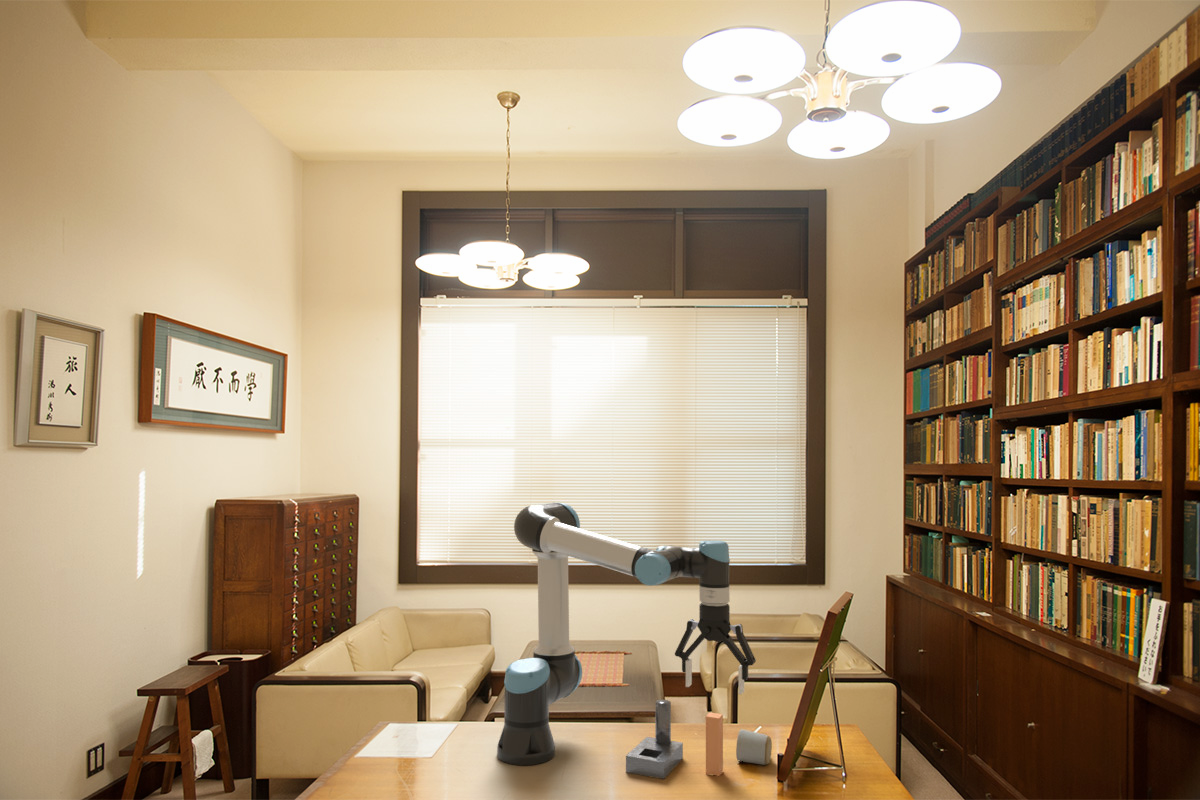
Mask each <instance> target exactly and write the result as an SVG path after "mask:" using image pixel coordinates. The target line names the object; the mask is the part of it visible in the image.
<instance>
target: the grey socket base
mask: <svg viewBox="0 0 1200 800" xmlns="http://www.w3.org/2000/svg"><path fill="white" fill-rule="evenodd" d="M671 707H672V702H671V701H670V700H668V699H657V700H656V701H655V716H654V717H655V724H654V725H655V729H654V730H655V731H654V732H655V733H654V734H655V735H654V737H650V736H645V738H643V739H642V740H641V741H640V742H639V743H638V744H637V745H636V746H634V748H633V749H632V750H631V751H629V752H628V753H627V754H626V755H625V773H628V774H633V775H638V774H640V775H639V776H643V775H645V777H648V776H652V777H651V778H653V777H658V778H657V779H659V778H663V779H662V780H665V779H666V778H667V777H666V776H668V775H670V773H671V772H672V771H673V770H674V769H675V768H674V767H675V766H678V764H680V762H682V760H683V759H684V757H683V754H684V753H683V752H684V749H683V748H684V747H683V746H684V744H683V743H684V742H680V741H674V740H672V739H671V738H672V733H671V732H672V731H671V729H672V728H671V727H672V723H671V719H672V713H671V712H672V708H671ZM682 758H683V759H682ZM681 759H682V760H681ZM673 768H674V769H673ZM672 769H673V770H672ZM671 770H672V771H671ZM665 777H666V778H665ZM664 778H665V779H664Z"/></svg>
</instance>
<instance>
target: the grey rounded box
mask: <svg viewBox="0 0 1200 800" xmlns="http://www.w3.org/2000/svg"><path fill="white" fill-rule="evenodd" d="M772 746H773V743H772V738H771V737H770V736H769V735H767V734H764V733H760V732H756V731H752V730H747V729H743V728H742V729H739V731H738V734H737V739H736V747H735V753H736V754H735V755H736V760H737V761H738V760H741V761H740V762H742V761H743V762H742V763H749V764H756V765H762V766H763V765H768V764H769V763H770V762H771V756H772V751H773V750H772V748H773V747H772Z"/></svg>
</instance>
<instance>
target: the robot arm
mask: <svg viewBox="0 0 1200 800" xmlns="http://www.w3.org/2000/svg"><path fill="white" fill-rule="evenodd" d="M513 528H514V530H513V531H514V535H515V537H516V540H517V541H519V543H520V544H522V545H523V546H525V547H526V548H530V549H531V552H532V553H533V554H534V555H535V556H536V558H537V600H538V602H537V605H538V606H537V608H538V609H537V611H538V613H537V614H538V620H537V621H538V628H537V629H538V644H537V645H536V646H535V647H534V648H533V652H532V656H533V657H525V658H524V659H523V658H521V659H517V660H515V661H513V662H511V663H510V664H509V665H507V667H506V670H505V675H504V681H503V683H504V721H503V724H504V725H503V728H502V731H501V733H500V736H499V740H498V743H497V746H496V747H497V748H496V749H497V750H496V751H497V752H496V756H497V759H499V760H500V761H502V762H504V763H506V764H509V765H515V766H533V765H539V764H542V763H543V764H544V763H546V762H548V761H550V760H551V759H553V758H554V757H555V755H556V743H555V741H554V737H553V733H552V730H551V727H550V726H551V725H550V723H549V722H550V721H549V719H550V717H549V715H550V714H549V713H550V709H549V708H550V705H552V704H554V703H555V702H557V701H559V700H562V699H564V698H566V697H568V696H570V695H571V694H572V693H573V692H574V691H576V689H578V687H579V686H580V684H581V682H582V679H583V666H582V662H581V661H580V660H579V659H578V656H577V655H576V654H575V653H576V649H575V647H574V646H573V644H571V643H570V614H569V613H570V606H569V605H570V600H569V557H570V558H574V559H577V560H581V561H584V562H587V563H590V564H593V565H597V566H600V567H603V568H606V569H609V570H613V571H615V572H619V573H622V574H625V575H628V576H632V577H635V578H637V579H638V580H639V582H641V584H643V585H645V586H649V587H650V586H659V585H661V584H663V583H666V582H667V581H672V580H673V579H676V578H679V577H680V578H693V579H697V578H698V580H699V582H698V583H699V585H698V586H699V590H698V593H699V601H700V603H699V608H698V610H699V615H698V616H699V620H698V621H696V620H694V619H689V620H688V621H687V623H686V630H685V631H684V634H683V635H682V637H681V640H680V642H679V644H678V646H677V647H676V649H675V652H674V656H675V657H677V658H680V659H681V671H682V673H685V688H690V686H691V685H692V684H693V683H692V682H693V677H692V675H693V666H692V665H693V664H692V663H693V659H692V658H691V657H690V656H691V655H692V653H694V651H695V650H696V649H697V648H698V647H699V646H700V644H701V643H702V642H703V641H704V640H706V641H707V642H713V641H714V642H716V643H720V642H722V643H723V644H724V645H725V646H726V647H727V648H728V649H729V651H730V652H731V654H732V655H733V657H735V659H736V660H737V661H738V663H739V664H740V665H738V668H737V669H738V671H737V673H738V674H737V675H738V695H743V693H745V681H747V680H748V678H749V666H753V665H754V664H755V663H756V660H757V659H756V658H755V656H754V653H753V651H752V649H751V647H750V644H749V643H748V641H747V638H746V637H745V634H744V627H743V625H742V624H741V623H738V624H733V625H731V622H730V620H731V619H730V618H731V617H730V616H731V615H730V610H731V609H730V605H729V602H731V601H730V562H731V558H730V551H729V550H730V548H729V544H728V543H727V542H726V541H723V540H715V539H714V540H711V539H710V540H709V539H708V540H707V539H706V540H700V542H699V544H698V545H699V546H698V547H688V546H687V547H685V546H675V545H660V546H657V548H656V549H655V550H654V549H650V548H647V547H646V548H645V547H644V546H640V545H637V544H634V543H629V542H626V541H623V540H620V539H616V538H615V537H614V538H613V537H611V536H606V535H603V534H599V533H597V532H593V531H590V530H586V529H583V528H581V521H580V517H579V515H578V513H577V512H576V510H575V509H574V508H573V507H572V506H571V505H569V504H567V503H564V502H555V501H554V502H547V503H546V502H545V503H540V504H539V503H538V504H530V505H528V506H525V507H524V508H523V509H521V510H520V511H519V513H518V514H517V515H516V517H515V520H514V525H513ZM697 628H698V630H699V631H700V634H699V635H698V637H696V638H695V640H694V642H692V643H691V644H690V646H689V647H688V648H687V649H686V650H685V647H686V646H687V644H688V642H689V640H690V637H691V635H692V634H693V631H694V630H697ZM731 631H732V632H733V634H734V635H735V636H736V639H737V641H738V643H739V645H740V647H741V649H740V648H739V647H738V645H737V644H736V643H735V641H734V640H733V638H732V637H731V635H730V633H731ZM684 650H685V651H684ZM741 650H742V651H741Z"/></svg>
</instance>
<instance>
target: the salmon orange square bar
mask: <svg viewBox="0 0 1200 800" xmlns="http://www.w3.org/2000/svg"><path fill="white" fill-rule="evenodd" d="M723 716H724V714H723V713H716V712H711V711H710V712H708V713H707V715H706V716H705V775H708V774H713V775H717V776H716V777H718V776H719V775H720V774H721V775H722V773H723V772H724V717H723ZM722 771H723V772H722ZM721 772H722V773H721ZM713 775H712V776H713ZM721 775H720V776H721ZM720 776H719V777H720Z"/></svg>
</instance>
